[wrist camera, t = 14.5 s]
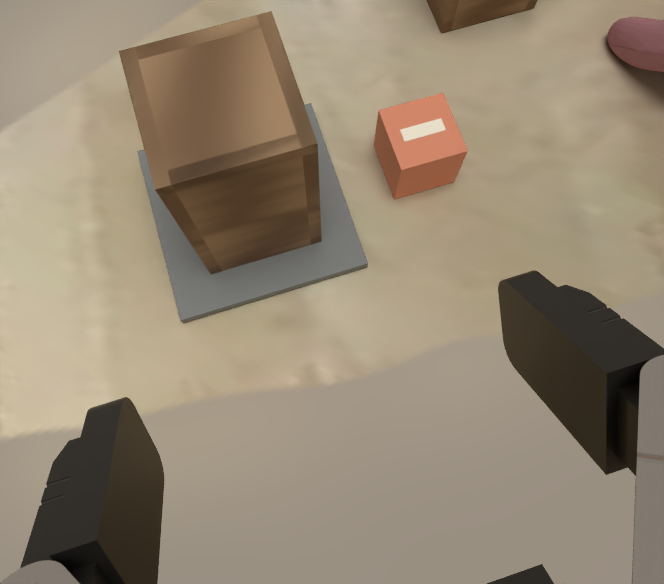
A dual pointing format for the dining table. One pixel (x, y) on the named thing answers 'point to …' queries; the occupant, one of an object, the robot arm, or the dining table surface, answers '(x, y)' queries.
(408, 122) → the red cube
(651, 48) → the video game controller
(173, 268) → the slate mat
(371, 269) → the dining table surface
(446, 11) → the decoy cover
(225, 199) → the brown rectangular block
